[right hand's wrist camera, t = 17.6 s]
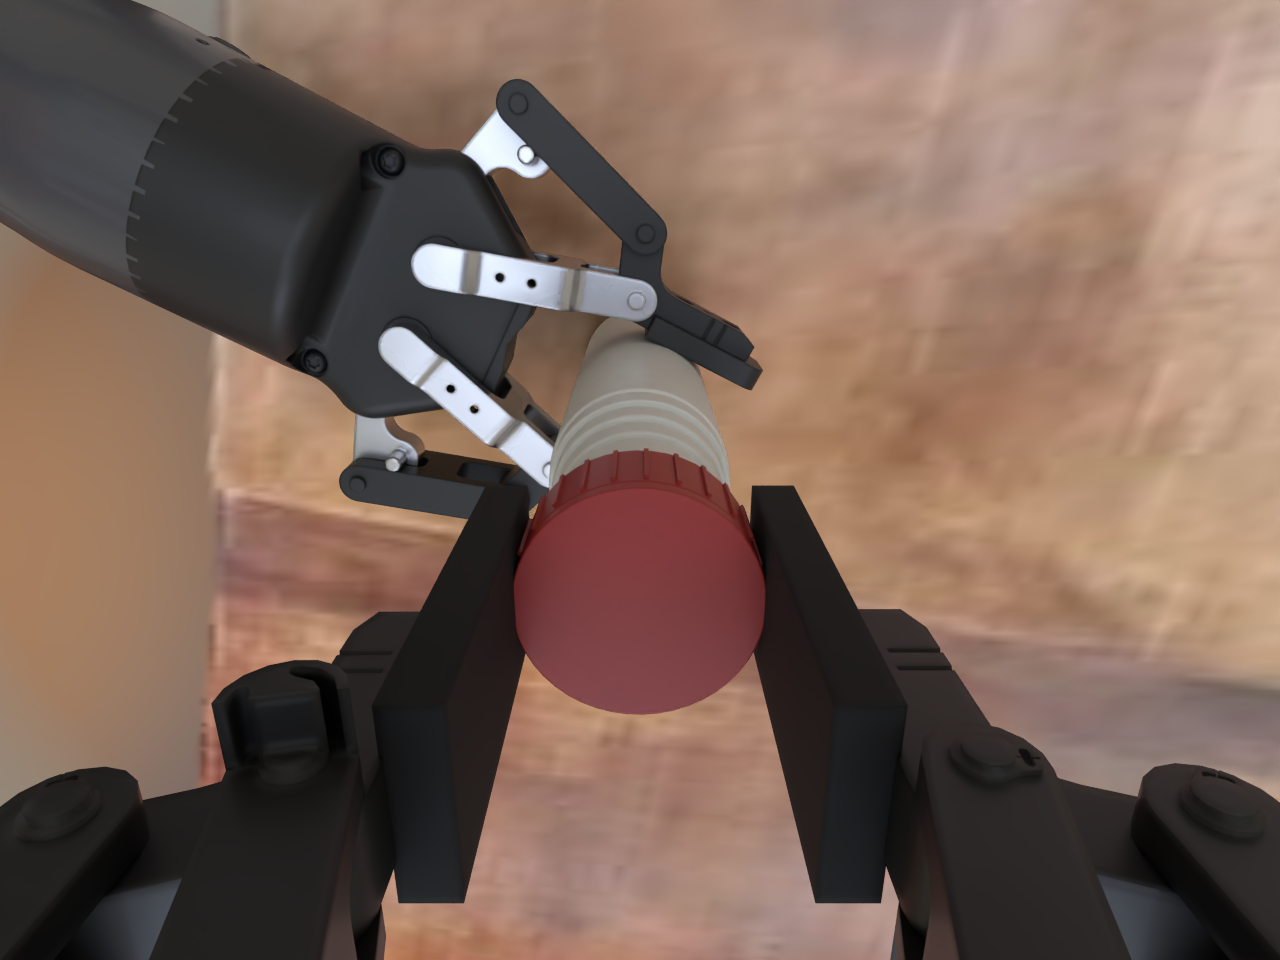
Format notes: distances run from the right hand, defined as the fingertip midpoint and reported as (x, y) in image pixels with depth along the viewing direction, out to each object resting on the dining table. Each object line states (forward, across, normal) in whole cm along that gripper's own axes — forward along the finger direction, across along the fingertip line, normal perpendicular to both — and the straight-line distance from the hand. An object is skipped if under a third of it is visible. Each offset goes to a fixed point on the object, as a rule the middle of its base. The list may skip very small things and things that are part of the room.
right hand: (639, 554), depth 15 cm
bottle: (+18, 0, 0) cm, 18 cm away
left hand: (+11, -2, +1) cm, 12 cm away
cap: (-2, 0, 0) cm, 2 cm away
